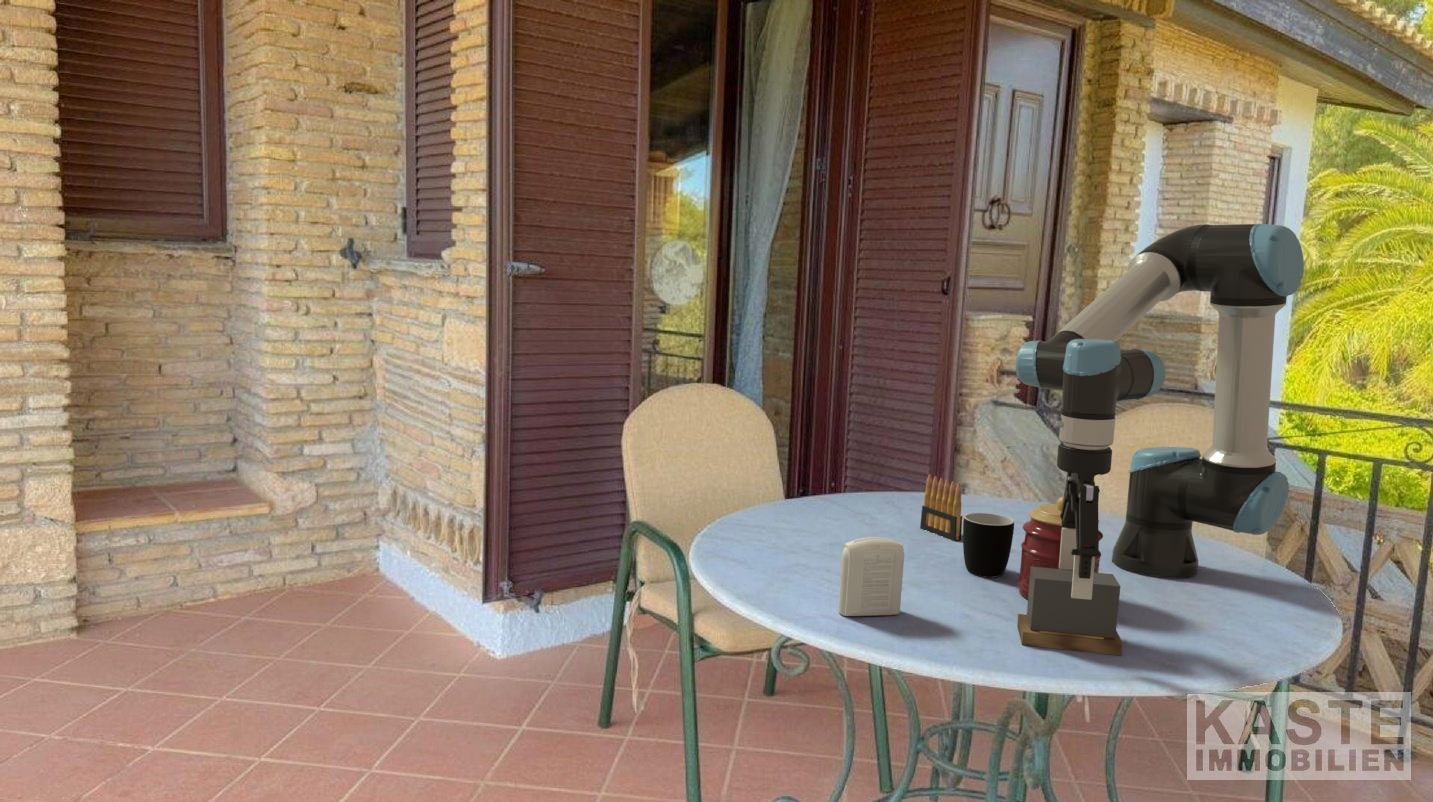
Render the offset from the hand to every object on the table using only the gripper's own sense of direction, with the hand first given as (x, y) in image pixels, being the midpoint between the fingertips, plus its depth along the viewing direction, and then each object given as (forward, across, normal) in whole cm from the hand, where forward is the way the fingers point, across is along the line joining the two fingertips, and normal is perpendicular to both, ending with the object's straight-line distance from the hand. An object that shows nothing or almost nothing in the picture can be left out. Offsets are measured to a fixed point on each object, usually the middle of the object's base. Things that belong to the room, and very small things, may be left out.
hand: (1074, 583), depth 150 cm
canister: (+10, -20, +1) cm, 23 cm away
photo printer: (+9, -2, -30) cm, 32 cm away
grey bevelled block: (+7, 0, 0) cm, 7 cm away
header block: (+9, 0, 0) cm, 9 cm away
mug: (+10, -32, -11) cm, 36 cm away
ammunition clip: (+10, -56, -18) cm, 59 cm away
